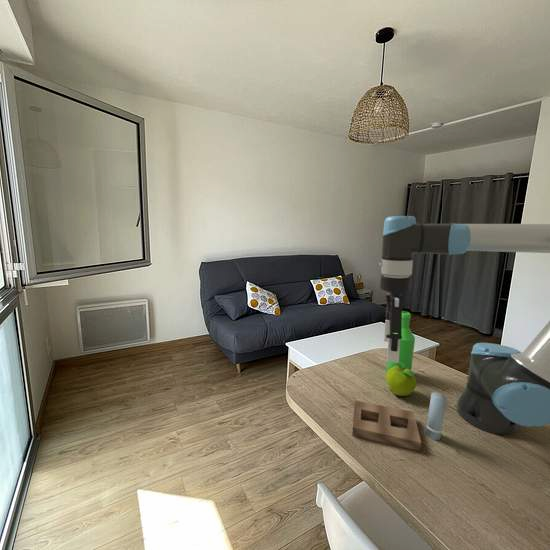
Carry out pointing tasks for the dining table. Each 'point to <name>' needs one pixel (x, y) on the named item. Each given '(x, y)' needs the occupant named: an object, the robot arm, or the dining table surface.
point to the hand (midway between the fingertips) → (390, 350)
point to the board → (386, 425)
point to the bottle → (405, 344)
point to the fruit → (401, 380)
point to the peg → (436, 416)
